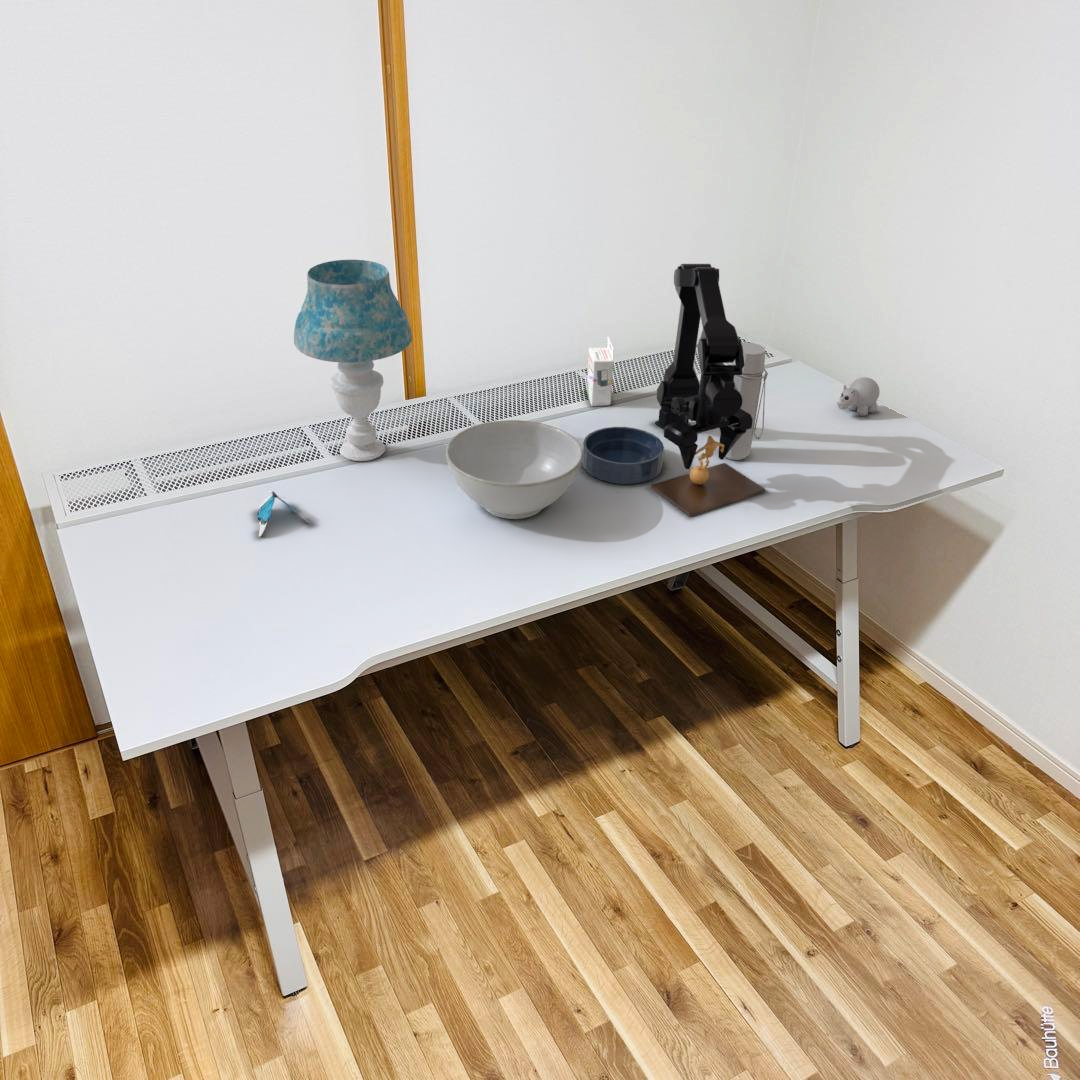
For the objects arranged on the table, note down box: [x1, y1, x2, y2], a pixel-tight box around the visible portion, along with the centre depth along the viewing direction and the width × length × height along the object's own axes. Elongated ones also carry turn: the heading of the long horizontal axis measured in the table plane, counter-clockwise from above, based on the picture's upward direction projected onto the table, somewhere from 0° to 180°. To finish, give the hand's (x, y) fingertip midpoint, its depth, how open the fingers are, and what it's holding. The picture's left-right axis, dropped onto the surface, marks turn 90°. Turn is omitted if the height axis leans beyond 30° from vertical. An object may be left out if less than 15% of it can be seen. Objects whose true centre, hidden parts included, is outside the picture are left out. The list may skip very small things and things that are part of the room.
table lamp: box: [293, 259, 413, 462], centre depth 205 cm, size 24×24×40 cm
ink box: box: [586, 336, 615, 407], centre depth 238 cm, size 9×5×15 cm, turn 6°
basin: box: [581, 426, 665, 485], centre depth 212 cm, size 17×17×5 cm
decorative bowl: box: [445, 419, 583, 520], centre depth 196 cm, size 27×27×12 cm
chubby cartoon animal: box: [836, 376, 881, 417], centre depth 236 cm, size 7×12×8 cm, turn 120°
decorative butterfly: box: [257, 490, 309, 537], centre depth 191 cm, size 10×6×10 cm
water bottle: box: [717, 341, 769, 461], centre depth 212 cm, size 9×8×25 cm
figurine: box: [689, 435, 724, 485], centre depth 202 cm, size 8×6×12 cm
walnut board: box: [650, 462, 766, 518], centre depth 205 cm, size 20×13×1 cm, turn 121°
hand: (704, 463), depth 202 cm, fingers open, 9 cm apart
